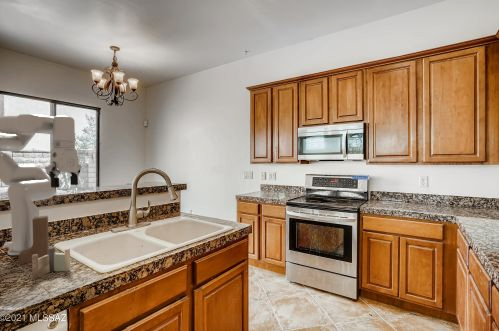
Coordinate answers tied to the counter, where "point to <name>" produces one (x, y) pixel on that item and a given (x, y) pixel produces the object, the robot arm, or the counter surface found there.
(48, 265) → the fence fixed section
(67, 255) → the fence swing section
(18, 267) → the counter surface
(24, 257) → the wooden block
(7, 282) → the counter surface
